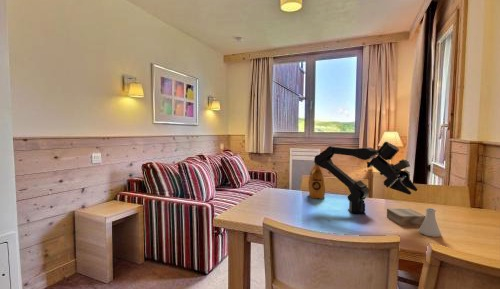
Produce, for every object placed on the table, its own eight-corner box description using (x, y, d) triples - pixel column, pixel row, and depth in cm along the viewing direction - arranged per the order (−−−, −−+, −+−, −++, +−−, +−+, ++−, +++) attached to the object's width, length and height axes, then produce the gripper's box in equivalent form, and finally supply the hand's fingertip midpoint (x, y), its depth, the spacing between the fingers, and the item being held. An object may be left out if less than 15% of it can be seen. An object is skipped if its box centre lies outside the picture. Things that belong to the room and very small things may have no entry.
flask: (414, 230, 107) (415, 206, 106) (431, 230, 108) (432, 206, 107) (428, 237, 100) (429, 212, 99) (445, 237, 100) (446, 211, 100)
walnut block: (400, 225, 113) (400, 216, 112) (386, 216, 124) (387, 208, 123) (425, 225, 113) (425, 216, 112) (409, 216, 124) (410, 208, 123)
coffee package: (307, 198, 157) (308, 162, 155) (308, 193, 169) (309, 159, 167) (324, 199, 154) (325, 162, 153) (324, 194, 166) (325, 160, 165)
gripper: (388, 155, 110) (421, 182, 102) (402, 152, 123) (433, 176, 114) (371, 174, 115) (401, 201, 107) (386, 170, 128) (414, 193, 120)
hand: (413, 192), depth 112 cm, fingers open, 9 cm apart
